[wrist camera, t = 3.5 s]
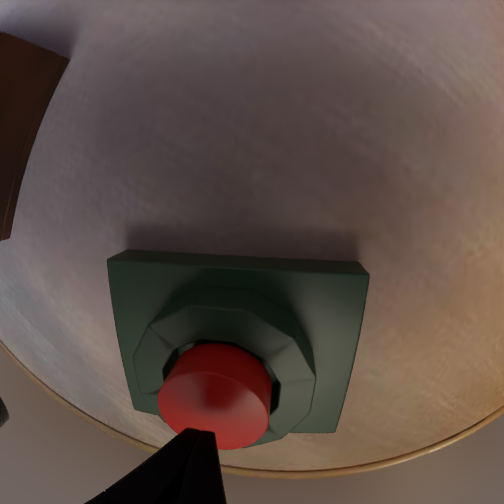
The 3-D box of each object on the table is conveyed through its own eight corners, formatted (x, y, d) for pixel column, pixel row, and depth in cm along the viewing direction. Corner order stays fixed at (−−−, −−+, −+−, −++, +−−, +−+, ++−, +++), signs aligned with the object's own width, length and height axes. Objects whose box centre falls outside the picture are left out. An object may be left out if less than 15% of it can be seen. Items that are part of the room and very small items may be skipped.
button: (179, 410, 10) (165, 439, 9) (169, 336, 10) (149, 363, 8) (268, 421, 10) (265, 455, 8) (275, 346, 9) (272, 379, 8)
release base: (146, 391, 14) (119, 432, 11) (125, 249, 12) (79, 271, 9) (331, 410, 13) (339, 461, 10) (359, 261, 11) (386, 291, 8)
